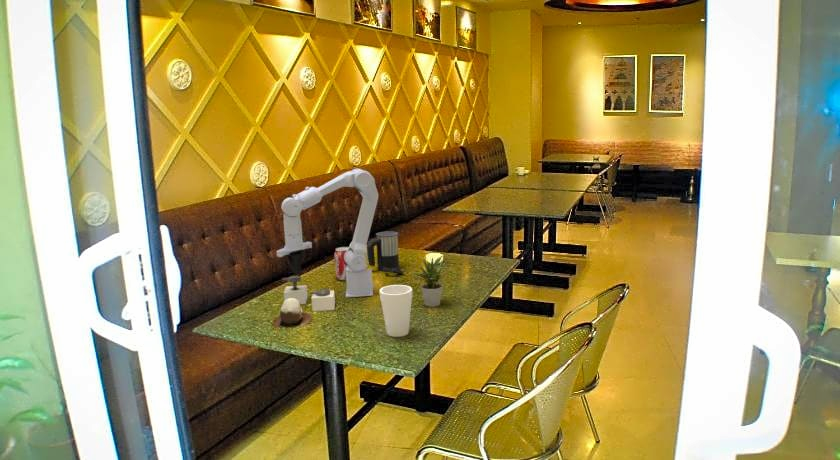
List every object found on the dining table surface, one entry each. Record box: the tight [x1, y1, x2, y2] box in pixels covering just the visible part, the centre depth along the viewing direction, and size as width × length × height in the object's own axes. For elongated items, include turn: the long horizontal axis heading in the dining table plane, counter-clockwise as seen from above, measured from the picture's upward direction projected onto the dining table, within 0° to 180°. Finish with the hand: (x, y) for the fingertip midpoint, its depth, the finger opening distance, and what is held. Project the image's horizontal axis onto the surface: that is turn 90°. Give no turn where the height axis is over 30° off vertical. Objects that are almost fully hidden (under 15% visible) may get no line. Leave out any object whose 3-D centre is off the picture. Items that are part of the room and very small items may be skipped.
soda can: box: [333, 246, 349, 282], centre depth 220 cm, size 7×7×12 cm
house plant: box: [408, 255, 450, 307], centre depth 188 cm, size 14×14×16 cm
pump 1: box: [281, 275, 302, 290], centre depth 195 cm, size 6×5×4 cm
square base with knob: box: [283, 284, 309, 305], centre depth 196 cm, size 7×7×4 cm
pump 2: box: [309, 288, 331, 296], centre depth 189 cm, size 6×5×4 cm
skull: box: [272, 298, 313, 328], centre depth 178 cm, size 12×10×10 cm
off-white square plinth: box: [310, 289, 336, 312], centre depth 189 cm, size 7×7×4 cm
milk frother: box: [366, 230, 404, 275], centre depth 228 cm, size 14×16×15 cm
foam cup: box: [379, 284, 414, 338], centre depth 164 cm, size 10×9×13 cm
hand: (296, 272), depth 193 cm, fingers closed
